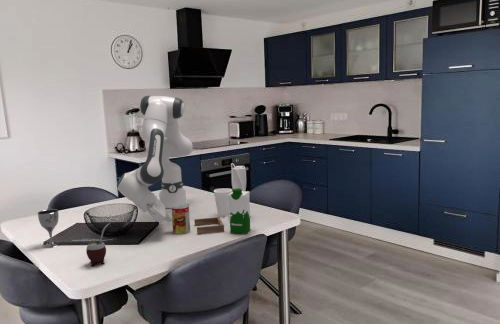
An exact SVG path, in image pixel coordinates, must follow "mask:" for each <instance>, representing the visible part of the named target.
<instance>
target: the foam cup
mask: <svg viewBox="0 0 500 324" xmlns="http://www.w3.org/2000/svg"><path fill="white" fill-rule="evenodd" d="M231 192H233V188H228V187H227V188H215V189H214V190H213V196H214V201H215V204H216V205H215V206H216V211H217V217H228V215H229V199H228V194H230V193H231ZM229 216H230V215H229Z"/></svg>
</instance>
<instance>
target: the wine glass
mask: <svg viewBox="0 0 500 324" xmlns="http://www.w3.org/2000/svg"><path fill="white" fill-rule="evenodd" d="M37 218H38V222H39V224H40V226H41V227H42V228H43V229H44V230H46V231H47V233H48V236H49V242H48V243H49V244H48V243H45V244H46V245H45V244H44V245H42V247H43V248H45V249H51V248H56V247H58V246H57V245H56V244H54V242H53V232H54V229H55V228H56V227H57V225H58V223H59V210H58V209H56V208H50V209H43V210H40V211H38V212H37Z"/></svg>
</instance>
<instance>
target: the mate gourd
mask: <svg viewBox="0 0 500 324" xmlns="http://www.w3.org/2000/svg"><path fill="white" fill-rule="evenodd" d="M110 223H111V222H109V223H107V224H106V225H105V226H104V227H103V228H102V230H101V235H100V237H99V240H96V241H92V242H91V241H90V242H89V243H88V245H87V246H86V250H85V251H86V256H87V258H88V260H90V266H91V267H95V266H97V265H105V264H106V263H105V257H106V254H107V248H106V244H105V243H104V242H103V241H102V239H103V236H104V233H105V230H106V228H107V227H108V226H109V225H110Z"/></svg>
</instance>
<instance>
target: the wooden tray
mask: <svg viewBox="0 0 500 324" xmlns="http://www.w3.org/2000/svg"><path fill="white" fill-rule="evenodd" d="M193 221H194V226H195V227H196V234H197V236H198V235H206V234H216V233H224V232H225V225H224V222H223V221H222V219H221V216H215V217H214V216H213V217H205V218H194V220H193Z"/></svg>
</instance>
